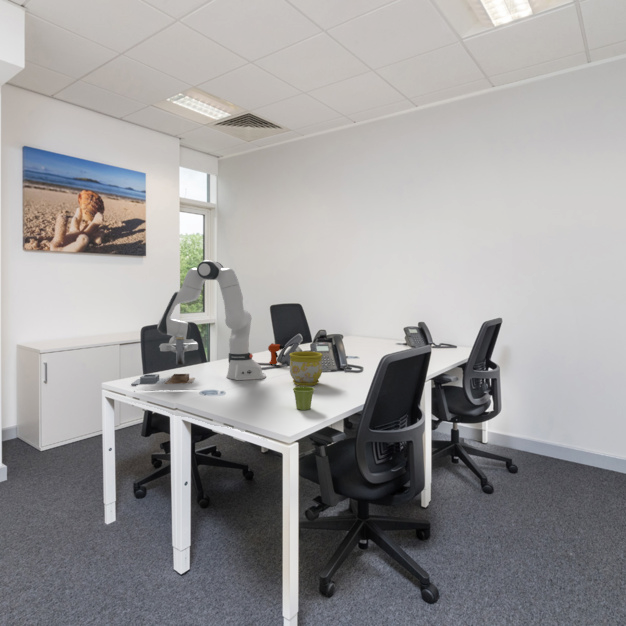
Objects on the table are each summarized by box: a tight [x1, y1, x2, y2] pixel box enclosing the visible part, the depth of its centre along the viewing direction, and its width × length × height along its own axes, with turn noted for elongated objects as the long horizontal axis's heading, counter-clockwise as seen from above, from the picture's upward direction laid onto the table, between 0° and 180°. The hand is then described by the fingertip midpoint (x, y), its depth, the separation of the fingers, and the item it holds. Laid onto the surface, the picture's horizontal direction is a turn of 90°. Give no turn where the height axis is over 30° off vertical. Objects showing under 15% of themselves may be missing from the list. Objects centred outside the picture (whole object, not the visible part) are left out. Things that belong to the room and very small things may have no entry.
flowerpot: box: [289, 350, 323, 387], centre depth 235 cm, size 18×18×16 cm
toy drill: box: [267, 343, 286, 364], centre depth 288 cm, size 5×19×15 cm, turn 57°
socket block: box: [164, 373, 196, 385], centre depth 235 cm, size 14×14×4 cm
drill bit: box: [175, 336, 185, 365], centre depth 234 cm, size 4×4×15 cm
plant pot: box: [292, 386, 315, 411], centre depth 187 cm, size 9×9×9 cm
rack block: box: [130, 373, 168, 386], centre depth 233 cm, size 16×12×4 cm
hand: (180, 348), depth 233 cm, fingers closed on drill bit, 4 cm apart
